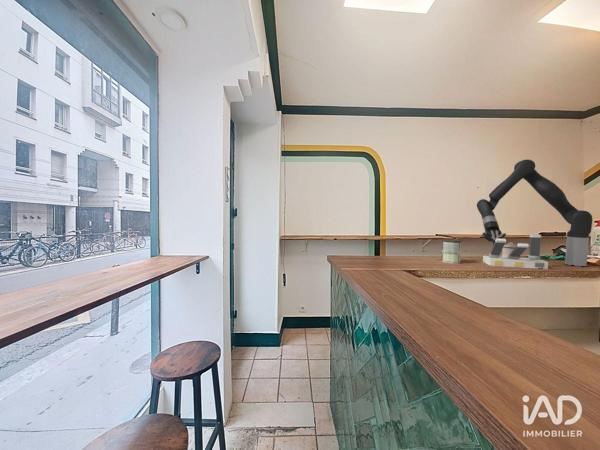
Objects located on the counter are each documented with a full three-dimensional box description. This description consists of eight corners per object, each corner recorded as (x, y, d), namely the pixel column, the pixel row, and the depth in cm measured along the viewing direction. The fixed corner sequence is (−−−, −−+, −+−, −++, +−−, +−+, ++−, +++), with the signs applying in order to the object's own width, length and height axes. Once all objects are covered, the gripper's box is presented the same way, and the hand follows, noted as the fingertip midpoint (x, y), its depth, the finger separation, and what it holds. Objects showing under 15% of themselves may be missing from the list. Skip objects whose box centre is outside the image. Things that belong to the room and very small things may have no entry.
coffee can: (438, 260, 176) (439, 238, 175) (455, 260, 175) (456, 239, 174) (445, 263, 165) (446, 240, 164) (463, 263, 164) (464, 241, 163)
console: (536, 264, 163) (536, 258, 163) (548, 269, 151) (548, 262, 151) (482, 261, 171) (483, 255, 171) (490, 265, 159) (490, 259, 159)
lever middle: (517, 255, 162) (528, 243, 150) (518, 259, 161) (529, 246, 149) (507, 255, 163) (517, 242, 152) (508, 258, 162) (519, 246, 150)
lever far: (497, 255, 165) (505, 238, 155) (498, 258, 163) (506, 241, 154) (488, 255, 166) (495, 238, 157) (489, 257, 165) (496, 240, 155)
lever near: (537, 259, 159) (539, 234, 158) (540, 260, 156) (541, 234, 155) (528, 258, 160) (529, 234, 159) (530, 259, 158) (531, 234, 157)
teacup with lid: (518, 261, 173) (519, 243, 173) (501, 259, 179) (502, 242, 178) (518, 258, 183) (519, 241, 182) (502, 257, 188) (503, 240, 188)
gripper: (480, 220, 170) (486, 241, 159) (504, 220, 166) (512, 242, 155) (477, 228, 175) (482, 249, 165) (500, 228, 171) (508, 250, 161)
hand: (497, 246), depth 160 cm, fingers closed
